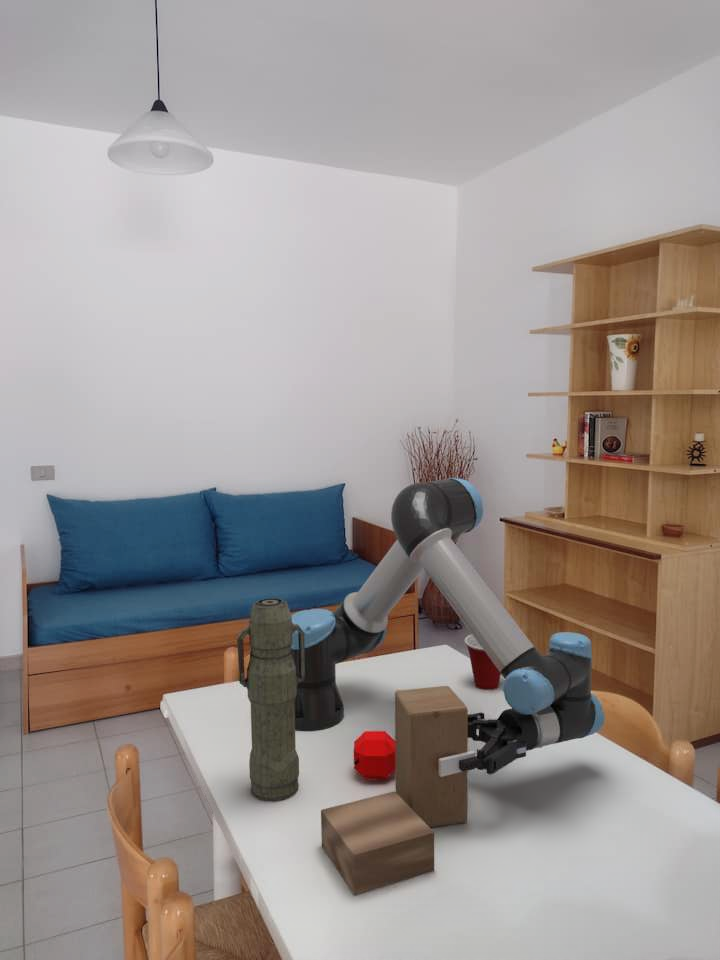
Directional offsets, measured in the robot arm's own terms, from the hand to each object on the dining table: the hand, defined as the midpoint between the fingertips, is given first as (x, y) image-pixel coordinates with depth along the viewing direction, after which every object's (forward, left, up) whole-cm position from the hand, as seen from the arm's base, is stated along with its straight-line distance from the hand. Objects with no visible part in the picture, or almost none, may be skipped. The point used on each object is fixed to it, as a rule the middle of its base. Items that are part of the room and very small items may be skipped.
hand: (421, 752), depth 122 cm
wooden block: (0, +2, -11) cm, 11 cm away
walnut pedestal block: (+8, -12, -11) cm, 18 cm away
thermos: (-19, -20, -11) cm, 30 cm away
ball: (-16, -1, -11) cm, 20 cm away
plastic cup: (-44, +43, -11) cm, 62 cm away
